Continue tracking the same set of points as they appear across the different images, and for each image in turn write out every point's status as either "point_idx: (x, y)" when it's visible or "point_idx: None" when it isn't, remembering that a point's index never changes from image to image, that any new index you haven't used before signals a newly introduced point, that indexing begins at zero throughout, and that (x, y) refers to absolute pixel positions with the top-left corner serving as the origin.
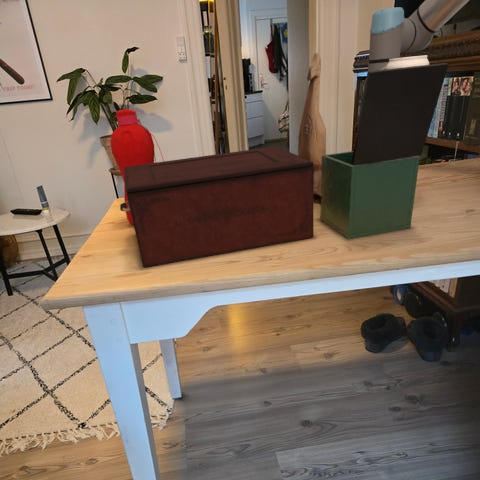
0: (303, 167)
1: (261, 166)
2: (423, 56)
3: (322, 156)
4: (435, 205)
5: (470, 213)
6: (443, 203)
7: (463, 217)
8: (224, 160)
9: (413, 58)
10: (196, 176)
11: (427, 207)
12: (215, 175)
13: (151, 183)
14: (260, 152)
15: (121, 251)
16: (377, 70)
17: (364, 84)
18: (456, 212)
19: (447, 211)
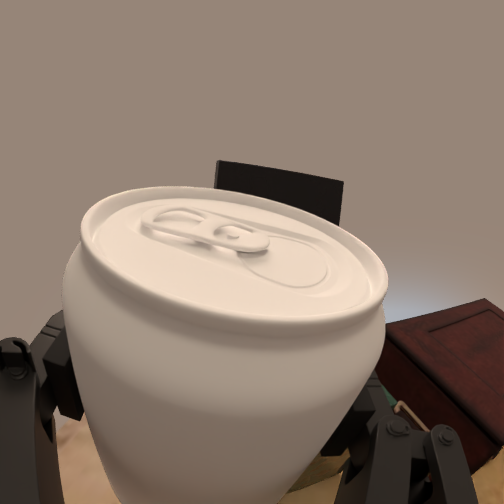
0: (395, 344)
1: (433, 320)
2: (169, 190)
3: (394, 400)
4: (92, 496)
5: (64, 432)
6: (70, 499)
7: (87, 422)
8: (500, 359)
9: (231, 199)
10: (466, 308)
11: (114, 493)
12: (454, 308)
13: (481, 302)
14: (490, 386)
15: None
16: (331, 179)
17: (457, 434)
18: (81, 446)
19: (92, 457)
